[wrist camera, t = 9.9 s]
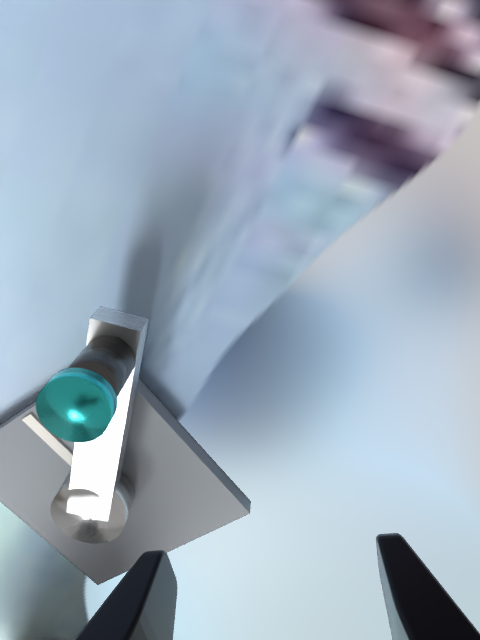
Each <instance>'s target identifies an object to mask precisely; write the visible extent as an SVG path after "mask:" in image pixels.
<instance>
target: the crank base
mask: <svg viewBox="0 0 480 640" xmlns="http://www.w3.org/2000/svg"><path fill="white" fill-rule="evenodd" d="M74 446H75V442H70V441H66V440H64V439H61V438H59V437H57V436H55V435H54V434H52V433H51V432H50V431H49V430H47V429H46V428H45V426H44V425H43V424H42V423H41V421H40V419H39V417H38V415H37V412H36V401H35V402H34V403H32V404H31V405H29V406H28V407H26V408H25V409H23V410H22V411H20V412H19V413H17V414H16V415H14V416H13V417H11V418H10V419H9V420H7V421H6V422H4V423H3V424H1V425H0V502H2V503H3V504H4V505H5V506H6V507H7V508H9V509H10V510H11V511H12V512H13V513H14V514H16V515H17V516H18V517H19V518H20V519H21V520H22V521H24V522H25V523H26V524H27V525H28V526H29V527H31V528H32V529H33V530H34V531H35V532H36V533H38V534H39V535H40V536H41V537H42V538H43V539H45V540H46V541H47V542H48V543H49V544H50V545H52V546H53V547H54V548H55V549H56V550H57V551H59V552H60V553H61V554H62V555H63V556H64V557H66V558H67V559H68V560H69V561H70V562H71V563H73V564H74V565H75V566H76V567H77V568H78V569H80V570H81V571H82V572H83V573H84V574H85V575H87V576H88V577H89V578H90V579H91V580H92V581H94V582H95V583H96V584H97V585H99V584H101V583H103V582H105V581H107V580H109V579H112V578H114V577H116V576H118V575H120V574H122V573H124V572H126V571H129V569H130V568H131V567H132V566H133V564H134V563H135V562H136V560H137V559H138V558H139V557H140V555H141V554H143V553H144V552H146V551H155V550H164V551H165V552H166V553H167V552H169V551H171V550H173V549H175V548H177V547H179V546H181V545H184V544H186V543H188V542H190V541H192V540H194V539H196V538H198V537H201V536H203V535H205V534H207V533H209V532H211V531H213V530H215V529H218V528H220V527H222V526H224V525H226V524H228V523H230V522H233V521H235V520H237V519H239V518H241V517H243V516H245V515H247V514H249V513H250V503H251V501H250V500H249V499H248V498H247V497H246V496H245V495H244V493H243V492H242V491H241V490H240V489H239V488H238V487H237V486H236V485H235V483H234V482H233V481H232V480H231V479H230V478H229V477H228V476H227V475H226V473H225V472H224V471H223V470H222V469H221V468H220V467H219V466H218V465H217V464H216V462H215V461H214V460H213V459H212V458H211V457H210V456H209V455H208V454H207V453H206V452H205V450H204V449H203V448H202V447H201V446H200V445H199V444H198V443H197V442H196V440H195V439H194V438H193V437H192V436H191V435H190V434H189V433H188V432H187V430H186V429H185V428H184V427H183V426H182V425H181V424H180V423H179V422H178V421H177V419H176V418H175V417H174V416H173V415H172V414H171V413H170V412H169V411H168V410H167V408H166V407H165V406H164V405H163V404H162V403H161V402H160V401H159V400H158V398H157V397H156V396H155V395H154V394H153V393H152V392H151V391H150V390H149V389H148V387H147V386H146V385H145V384H144V383H143V382H142V381H141V380H140V379H139V378H138V383H137V388H136V394H135V400H134V405H133V411H132V416H131V422H130V427H129V433H128V438H127V444H126V449H125V455H124V461H123V466H122V473H123V474H125V475H126V476H127V477H128V479H129V480H130V481H131V483H132V485H133V488H134V492H135V497H134V501H133V504H132V507H131V509H130V512H129V515H128V517H127V520H126V523H125V525H124V528H123V530H122V532H121V534H120V535H119V536H118V537H117V538H115V539H113V540H111V541H109V542H106V543H99V544H91V543H85V542H81V541H78V540H75V539H73V538H71V537H69V536H67V535H66V534H65V533H63V532H62V531H61V530H60V529H59V528H58V527H57V526H56V525H55V523H54V522H53V520H52V517H51V513H50V507H51V503H52V501H53V499H54V497H55V496H56V494H57V492H58V491H59V489H60V487H61V485H62V484H63V482H64V480H65V479H66V477H67V475H68V474H69V472H70V471H71V470H72V463H73V454H74Z"/></svg>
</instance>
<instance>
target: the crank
mask: <svg viewBox="0 0 480 640" xmlns="http://www.w3.org/2000/svg"><path fill="white" fill-rule="evenodd" d="M148 322H149V318H145V317H141V316H137V315H133V314H129V313H125V312H121V311H118V310H114V309H110V308H106V307H102V306H101V307H100V308H99V309H98V310H97V311H96V312H95V313H94V314H93V315H92V316H91V317H90V318H89V327H88V335H87V344H86V347H85V349H84V350H83V351H82V352H81V353H80V355H79V356H78V357H77V358H76V359H75V361H74V362H73V363H72V364H71V365H70V367H69V368H67V369H64V370H61V371H59V372H58V373H56V374H55V375H54V376H53V377H52V378H51V379H50V381H49V382H48V383H47V384H46V385H45V386H44V388H43V389H42V390H41V391H40V392H39V394H38V396H37V399H36V412H37V415H38V417H39V419H40V421H41V423H42V424H43V425H44V426H45V428H46V429H47V430H49V431H50V432H51V433H52V434H54V435H55V436H57V437H59V438H61V439H64V440H66V441H70V442H75V446H74V454H73V463H72V470H71V471H70V472H69V474H68V475H67V477H66V479H65V480H64V482H63V484H62V485H61V487H60V489H59V491H58V492H57V494H56V496H55V497H54V499H53V501H52V503H51V507H50V513H51V517H52V520H53V522H54V523H55V525H56V526H57V527H58V528H59V529H60V530H61V531H62V532H63V533H65V534H66V535H67V536H69V537H71V538H73V539H75V540H78V541H81V542H85V543H91V544H99V543H106V542H109V541H111V540H113V539H115V538H117V537H118V536H119V535H120V534H121V532H122V530H123V528H124V525H125V523H126V520H127V517H128V515H129V512H130V509H131V507H132V504H133V501H134V497H135V492H134V488H133V485H132V483H131V481H130V480H129V479H128V477H127V476H126V475H125V474H123V473H122V466H123V461H124V455H125V449H126V444H127V438H128V433H129V427H130V422H131V416H132V411H133V405H134V400H135V394H136V388H137V383H138V377H139V372H140V366H141V361H142V355H143V350H144V344H145V339H146V333H147V327H148Z"/></svg>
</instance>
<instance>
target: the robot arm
mask: <svg viewBox="0 0 480 640" xmlns="http://www.w3.org/2000/svg"><path fill="white" fill-rule="evenodd" d="M376 544H377V555H378V566H379V572H380V579H381V584H382V589H383V594H384V599H385V604H386V609H387V613H388V619H389V624H390V628H391V634H392V639H393V640H480V633H479V632H478V631H477V629H476V628H475V627H474V626H473V624H472V623H471V622H470V621H469V619H468V618H467V617H466V616H465V615H464V613H463V612H462V611H461V609H460V608H459V607H458V606H457V605H456V603H455V602H454V601H453V599H452V598H451V597H450V596H449V594H448V593H447V592H446V591H445V589H444V588H443V587H442V585H441V584H440V583H439V582H438V581H437V579H436V578H435V577H434V576H433V574H432V573H431V572H430V570H429V569H428V568H427V567H426V566H425V564H424V563H423V562H422V560H421V559H420V558H419V557H418V555H417V554H416V553H415V552H414V550H413V549H412V548H411V547H410V545H409V544H408V543H407V542H406V540H405V539H404V538H403V537H402V536H401V535H400V534H398V533H393V534H392V533H391V534H379V535H378V536H377V537H376ZM176 599H177V581H176V577H175V574H174V571H173V569H172V566H171V563H170V560H169V558H168V556H167V553H166V552H165V551H164V550H155V551H146V552H144V553H143V554H141V555H140V557H139V558H138V559H137V560H136V562H135V563H134V564H133V566H132V567H131V568H130V569H129V571H128V572H127V573H126V575H125V576H124V577H123V579H122V580H121V581H120V582H119V584H118V585H117V586H116V587H115V589H114V590H113V591H112V593H111V594H110V595H109V597H108V598H107V599H106V600H105V602H104V603H103V604H102V605H101V607H100V608H99V609H98V611H97V612H96V613H95V615H94V616H93V617H92V618H91V620H90V621H89V622H88V623H87V625H86V626H85V627H84V629H83V630H82V631H81V632H80V634H79V635H78V636H77V638H76V639H75V640H173V630H174V620H175V609H176Z"/></svg>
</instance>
